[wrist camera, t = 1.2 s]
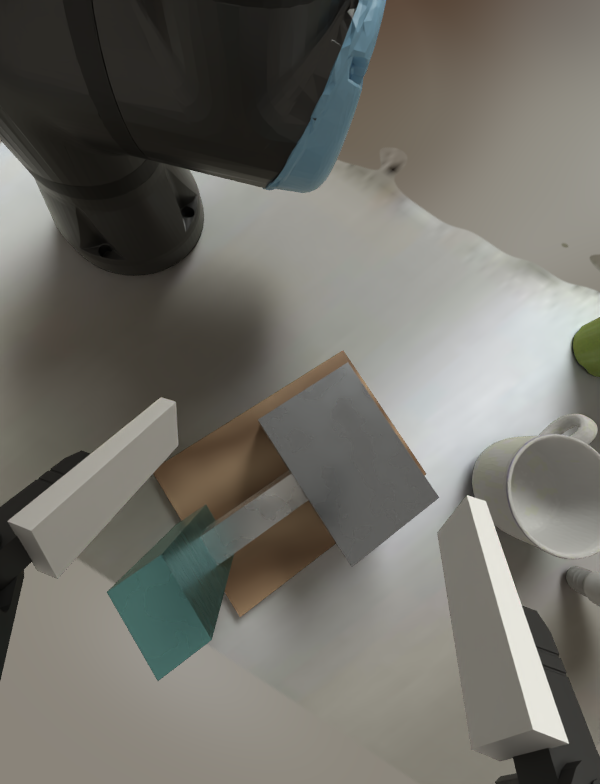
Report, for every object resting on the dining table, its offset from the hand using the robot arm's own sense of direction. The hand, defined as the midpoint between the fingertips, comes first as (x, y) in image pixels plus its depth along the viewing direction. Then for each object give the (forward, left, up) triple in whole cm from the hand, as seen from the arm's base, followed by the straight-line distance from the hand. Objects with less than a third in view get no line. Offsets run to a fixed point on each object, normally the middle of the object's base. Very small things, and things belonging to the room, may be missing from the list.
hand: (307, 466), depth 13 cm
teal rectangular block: (+3, -5, -16) cm, 17 cm away
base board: (+3, 0, -19) cm, 19 cm away
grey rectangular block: (+3, +3, -17) cm, 18 cm away
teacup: (+17, +20, -19) cm, 32 cm away
